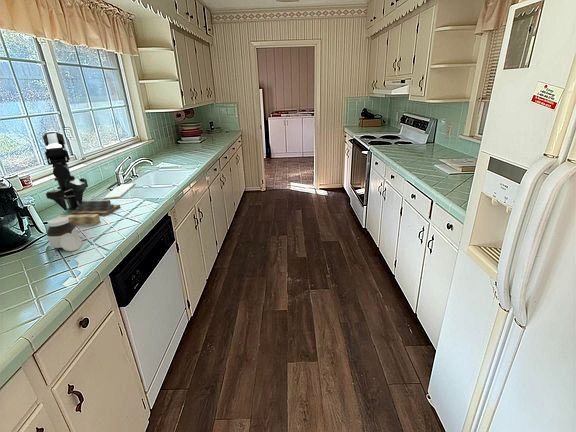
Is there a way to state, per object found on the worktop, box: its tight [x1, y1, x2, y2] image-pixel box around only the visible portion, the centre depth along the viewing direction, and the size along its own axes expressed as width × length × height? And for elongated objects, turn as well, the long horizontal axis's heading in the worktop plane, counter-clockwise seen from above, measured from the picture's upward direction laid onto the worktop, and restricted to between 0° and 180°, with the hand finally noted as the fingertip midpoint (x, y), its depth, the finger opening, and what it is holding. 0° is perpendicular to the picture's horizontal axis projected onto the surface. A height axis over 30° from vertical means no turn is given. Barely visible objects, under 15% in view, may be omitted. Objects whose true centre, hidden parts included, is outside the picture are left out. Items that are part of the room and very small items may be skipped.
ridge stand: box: [69, 199, 121, 216], centre depth 167 cm, size 20×12×6 cm, turn 82°
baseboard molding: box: [101, 181, 136, 200], centre depth 202 cm, size 31×3×12 cm
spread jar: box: [46, 217, 82, 252], centre depth 125 cm, size 12×11×12 cm
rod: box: [54, 214, 101, 226], centre depth 152 cm, size 20×4×4 cm, turn 86°
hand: (73, 206), depth 150 cm, fingers open, 9 cm apart
